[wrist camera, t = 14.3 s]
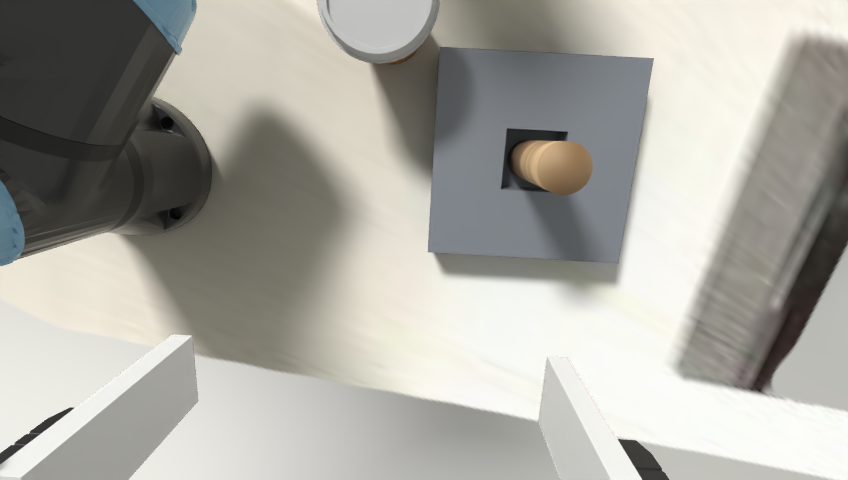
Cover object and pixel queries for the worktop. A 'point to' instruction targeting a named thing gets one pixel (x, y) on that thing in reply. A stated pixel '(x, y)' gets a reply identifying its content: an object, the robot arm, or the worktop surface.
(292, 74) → the worktop surface
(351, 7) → the disposable coffee cup
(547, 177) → the oak peg
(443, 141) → the socket block
